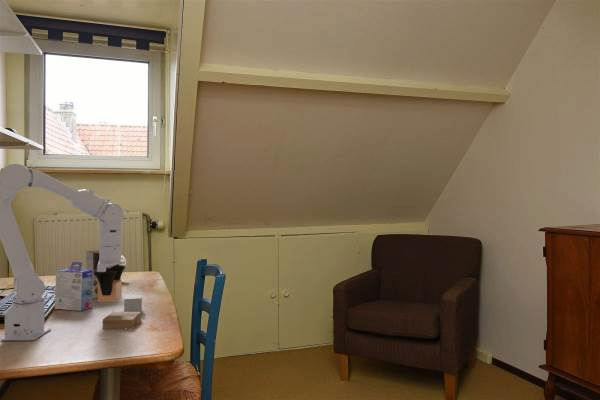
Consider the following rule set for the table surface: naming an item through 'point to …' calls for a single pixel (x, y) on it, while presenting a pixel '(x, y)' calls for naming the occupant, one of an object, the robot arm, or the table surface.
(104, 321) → the walnut block
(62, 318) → the table surface
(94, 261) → the coffee box
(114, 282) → the terracotta cube
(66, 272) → the ink cartridge box
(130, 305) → the grey cube
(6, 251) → the robot arm
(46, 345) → the table surface
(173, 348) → the table surface
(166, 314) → the table surface
